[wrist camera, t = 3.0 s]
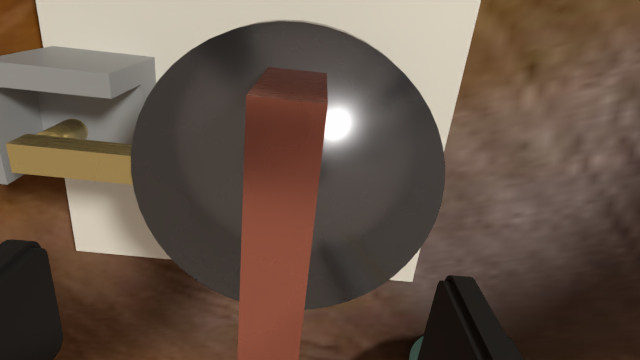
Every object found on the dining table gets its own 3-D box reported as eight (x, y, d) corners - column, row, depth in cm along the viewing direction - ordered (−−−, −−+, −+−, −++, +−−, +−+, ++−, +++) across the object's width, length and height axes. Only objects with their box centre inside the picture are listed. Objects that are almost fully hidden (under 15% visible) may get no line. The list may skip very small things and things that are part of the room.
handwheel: (446, 33, 18) (547, 64, 10) (395, 264, 22) (435, 411, 15) (46, -13, 17) (-198, -20, 9) (83, 234, 22) (-53, 371, 14)
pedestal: (480, -35, 20) (542, -47, 14) (408, 270, 27) (430, 342, 22) (26, -90, 19) (-98, -125, 14) (78, 239, 27) (12, 305, 21)
